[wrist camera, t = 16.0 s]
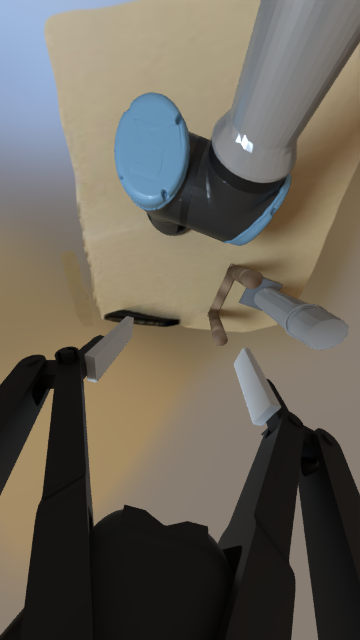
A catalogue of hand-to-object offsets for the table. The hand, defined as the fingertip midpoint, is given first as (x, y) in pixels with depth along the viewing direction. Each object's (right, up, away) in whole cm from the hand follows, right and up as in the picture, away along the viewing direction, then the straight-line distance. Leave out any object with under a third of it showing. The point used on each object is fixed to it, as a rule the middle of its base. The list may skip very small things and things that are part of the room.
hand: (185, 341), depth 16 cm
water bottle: (+28, +11, +31) cm, 43 cm away
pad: (+27, +12, +31) cm, 43 cm away
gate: (+14, +12, +33) cm, 38 cm away
